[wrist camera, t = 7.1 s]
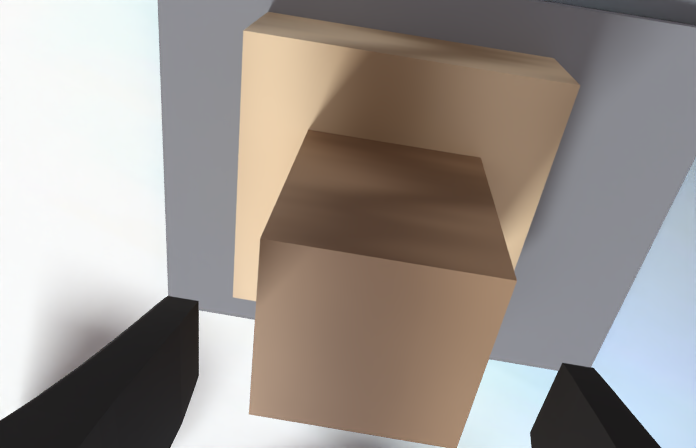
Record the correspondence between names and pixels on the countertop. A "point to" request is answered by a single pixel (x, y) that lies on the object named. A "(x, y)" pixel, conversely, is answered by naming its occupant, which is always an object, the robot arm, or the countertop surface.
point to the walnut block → (378, 290)
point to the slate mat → (561, 185)
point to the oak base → (392, 113)
